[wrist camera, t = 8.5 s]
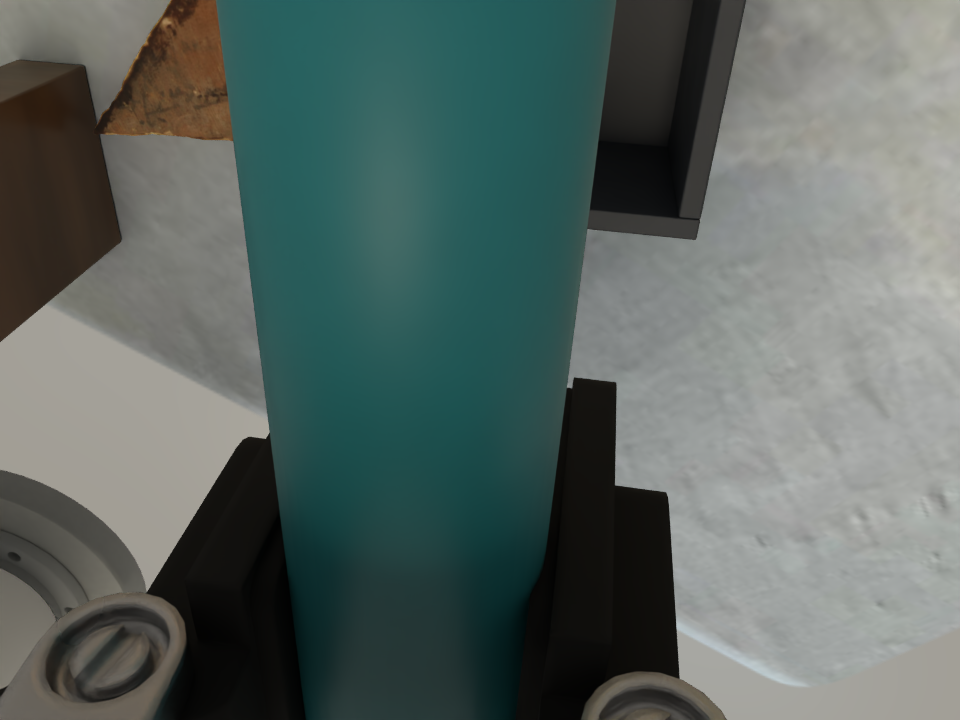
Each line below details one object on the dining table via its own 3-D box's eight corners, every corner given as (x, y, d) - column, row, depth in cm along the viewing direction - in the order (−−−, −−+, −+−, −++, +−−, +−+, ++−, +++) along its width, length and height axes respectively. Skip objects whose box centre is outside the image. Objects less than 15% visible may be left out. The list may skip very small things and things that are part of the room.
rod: (224, -1016, 4) (-200, -1903, 2) (745, -1044, 4) (889, -2075, 2) (345, 653, 11) (282, 841, 9) (528, 681, 10) (504, 881, 9)
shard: (110, 124, 35) (87, 137, 34) (61, -78, 31) (33, -73, 30) (356, 136, 34) (344, 150, 32) (340, -73, 30) (325, -67, 28)
